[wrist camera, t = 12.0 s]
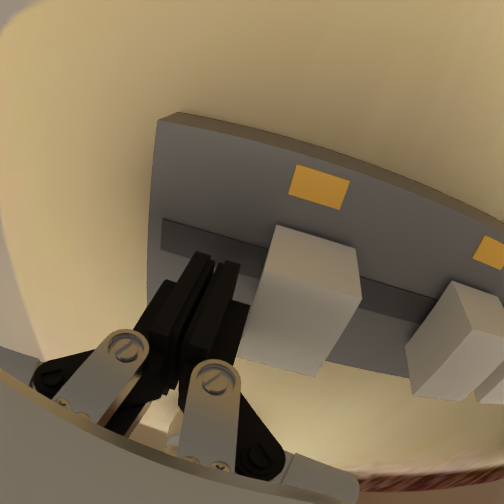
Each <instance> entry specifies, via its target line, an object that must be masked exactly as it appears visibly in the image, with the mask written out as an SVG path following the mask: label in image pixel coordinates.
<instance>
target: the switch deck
mask: <svg viewBox="0 0 504 504" xmlns="http://www.w3.org/2000/svg"><path fill="white" fill-rule="evenodd" d="M276 225H280V226H283V227H286V228H290V229H293V230H296V231H300V232H303V233H306V234H310V235H313V236H316V237H320V238H323V239H326V240H329V241H333V242H336V243H339V244H342V245H345V246H349V247H352V248H355V250H356V256H357V263H358V270H359V278H360V285H361V293H362V300H361V302H360V304H359V305H358V307H357V309H356V311H355V312H354V314H353V316H352V317H351V319H350V321H349V323H348V324H347V326H346V328H345V329H344V331H343V333H342V334H341V336H340V337H339V339H338V341H337V342H336V344H335V346H334V347H333V349H332V350H331V352H330V353H329V355H328V357H327V358H326V360H325V361H329V362H334V363H338V364H342V365H347V366H351V367H356V368H360V369H365V370H370V371H375V372H380V373H385V374H390V375H395V376H401V377H406V378H410V375H409V369H408V362H407V357H406V351H405V346H406V344H407V343H408V342H409V341H410V339H411V338H412V337H413V335H414V334H415V333H416V331H417V330H418V329H419V327H420V326H421V325H422V323H423V322H424V320H425V319H426V318H427V316H428V315H429V313H430V312H431V311H432V309H433V308H434V306H435V305H436V303H437V302H438V300H439V299H440V297H441V296H442V294H443V293H444V291H445V290H446V288H447V287H448V285H449V284H450V282H451V281H455V282H457V283H460V284H463V285H466V286H469V287H472V288H475V289H477V290H480V291H483V292H486V293H488V294H491V295H494V296H497V297H498V298H499V300H500V302H501V304H502V306H503V308H504V223H503V222H501V221H499V220H497V219H495V218H493V217H491V216H489V215H487V214H486V213H484V212H482V211H480V210H478V209H475V208H473V207H471V206H469V205H467V204H465V203H463V202H461V201H459V200H457V199H454V198H452V197H450V196H448V195H446V194H443V193H441V192H439V191H437V190H434V189H432V188H430V187H427V186H425V185H423V184H420V183H418V182H416V181H413V180H411V179H408V178H406V177H403V176H401V175H398V174H396V173H393V172H390V171H388V170H385V169H383V168H380V167H377V166H374V165H372V164H369V163H366V162H363V161H361V160H358V159H355V158H352V157H349V156H346V155H343V154H340V153H337V152H334V151H331V150H328V149H325V148H322V147H318V146H315V145H312V144H308V143H305V142H302V141H298V140H295V139H291V138H288V137H284V136H281V135H277V134H273V133H270V132H266V131H262V130H258V129H254V128H250V127H246V126H242V125H237V124H233V123H229V122H224V121H220V120H215V119H210V118H205V117H201V116H196V115H190V114H185V113H180V112H177V113H175V114H172V115H169V116H167V117H164V118H162V119H159V120H158V121H157V129H156V137H155V146H154V156H153V166H152V178H151V191H150V206H149V224H148V249H147V306H148V305H149V303H150V301H151V300H152V298H153V297H154V295H155V294H156V292H157V290H158V289H159V287H160V286H161V284H162V283H163V281H164V280H166V279H167V280H171V281H174V282H177V281H178V279H179V278H180V276H181V274H182V273H183V271H184V269H185V268H186V266H187V265H188V263H189V261H190V260H191V258H192V256H193V255H194V253H195V252H196V251H198V252H201V253H205V254H208V255H211V260H214V261H215V267H214V272H215V269H216V267H217V265H218V263H219V262H221V263H225V261H226V260H228V261H232V262H235V263H239V264H241V266H240V270H239V274H238V278H237V283H236V287H235V291H234V295H233V299H232V300H235V301H238V302H242V303H245V304H248V305H251V306H250V309H249V313H248V316H247V320H246V323H245V326H244V330H243V333H242V337H241V338H243V334H244V331H245V328H246V324H247V321H248V317H249V314H250V310H251V307H252V304H253V300H254V297H255V294H256V291H257V287H258V284H259V281H260V278H261V274H262V271H263V268H264V264H265V261H266V258H267V254H268V251H269V248H270V244H271V241H272V238H273V234H274V231H275V228H276ZM213 274H214V273H213Z"/></svg>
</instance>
